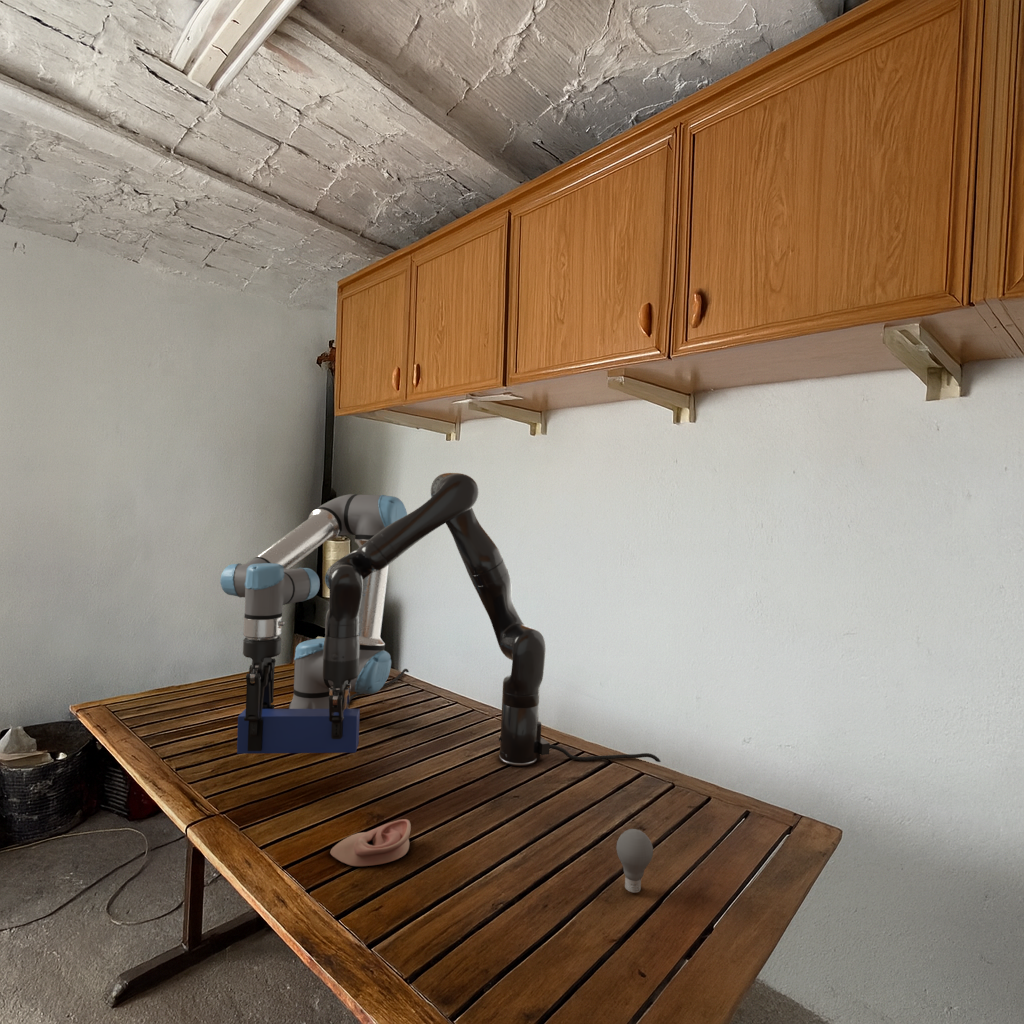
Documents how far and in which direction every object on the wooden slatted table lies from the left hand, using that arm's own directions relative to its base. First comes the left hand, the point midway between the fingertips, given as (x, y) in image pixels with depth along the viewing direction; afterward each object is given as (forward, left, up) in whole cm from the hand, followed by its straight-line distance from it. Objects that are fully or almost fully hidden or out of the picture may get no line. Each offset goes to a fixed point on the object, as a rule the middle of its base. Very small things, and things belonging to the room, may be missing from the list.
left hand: (258, 744), depth 135 cm
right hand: (-12, +12, +3) cm, 17 cm away
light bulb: (-23, +77, -10) cm, 81 cm away
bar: (-6, +6, -1) cm, 9 cm away
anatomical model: (-2, +36, -10) cm, 37 cm away
